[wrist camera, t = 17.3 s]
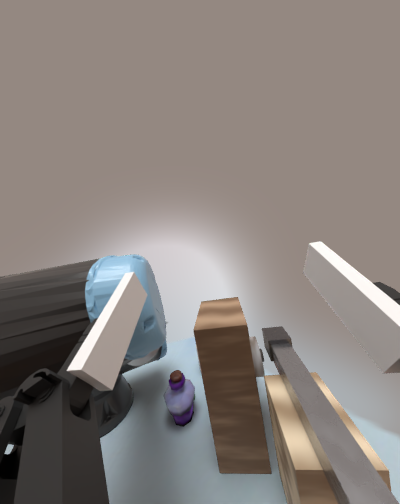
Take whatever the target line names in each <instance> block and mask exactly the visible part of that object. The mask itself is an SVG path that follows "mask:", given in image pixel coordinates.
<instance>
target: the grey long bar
mask: <svg viewBox="0 0 400 504" xmlns="http://www.w3.org/2000/svg"><path fill="white" fill-rule="evenodd" d="M262 331H263V337H264V343H265V348H266V350H267V352H268V355H269V357H270V359H271V361H274V363H275V365H276V368H277V370H278V372H279V374H280V376H281V379H282V381H283V383H284V385H285V387H286V390H287V392H288V394H289V396H290V399H291V401H292V403H293V405H294V407H295V410H296V412H297V414H298V416H299V418H300V421H301V423H302V425H303V427H304V429H305V432H306V434H307V436H308V438H309V440H310V443H311V445H312V447H313V449H314V451H315V454H316V456H317V458H318V460H319V462H320V465H321V467H322V469H323V471H324V474H325V476H326V478H327V480H328V482H329V485H330V487H331V489H332V491H333V493H334V496H335V498H336V500H337V502H338V504H399V503H398V501H397V500H396V498H395V497H394V495H393V494H392V493H391V491H390V490H389V488H388V487H387V485H386V484H385V482H384V481H383V479H382V478H381V476H380V475H379V474H378V472H377V471H376V469H375V468H374V466H373V465H372V463H371V462H370V460H369V459H368V457H367V456H366V455H365V453H364V452H363V450H362V449H361V447H360V446H359V444H358V443H357V441H356V440H355V438H354V437H353V436H352V434H351V433H350V431H349V430H348V428H347V427H346V425H345V424H344V422H343V421H342V419H341V418H340V417H339V415H338V414H337V412H336V411H335V409H334V408H333V406H332V405H331V403H330V402H329V400H328V399H327V398H326V396H325V395H324V393H323V392H322V390H321V389H320V387H319V386H318V384H317V383H316V381H315V380H314V379H313V377H312V376H311V374H310V373H309V372H308V370H307V368H306V367H305V365H304V364H303V362H302V361H301V360H300V358H299V357H298V355H297V354H296V352H295V351H294V349H293V348H292V342H291V338H290V337H289V336H288V334H287V332H286V331H285V330H284V329H283V327H273V328H262Z"/></svg>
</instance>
